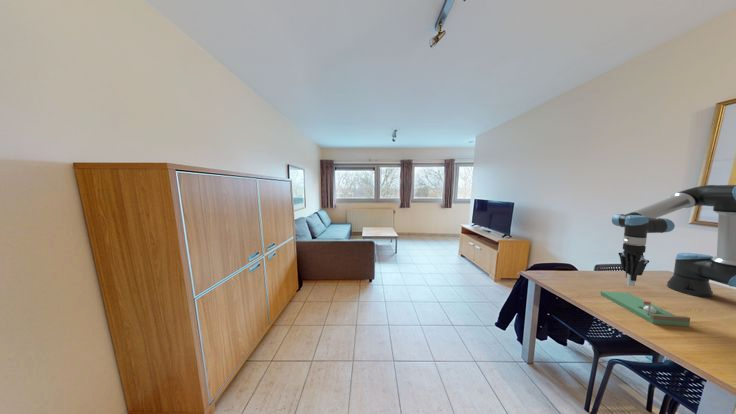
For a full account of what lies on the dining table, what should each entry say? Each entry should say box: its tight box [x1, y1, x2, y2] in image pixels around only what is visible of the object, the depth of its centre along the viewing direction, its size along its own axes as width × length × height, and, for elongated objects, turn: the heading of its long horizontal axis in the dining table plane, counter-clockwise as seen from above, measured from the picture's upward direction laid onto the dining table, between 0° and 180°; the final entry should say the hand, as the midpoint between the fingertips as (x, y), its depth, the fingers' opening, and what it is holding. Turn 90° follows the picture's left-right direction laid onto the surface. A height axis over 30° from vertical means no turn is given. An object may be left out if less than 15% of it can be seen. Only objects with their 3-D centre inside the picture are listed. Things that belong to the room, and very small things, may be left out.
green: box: [599, 290, 691, 327], centre depth 109 cm, size 15×26×9 cm, turn 171°
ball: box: [643, 306, 656, 314], centre depth 104 cm, size 4×4×4 cm
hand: (630, 285), depth 114 cm, fingers closed
